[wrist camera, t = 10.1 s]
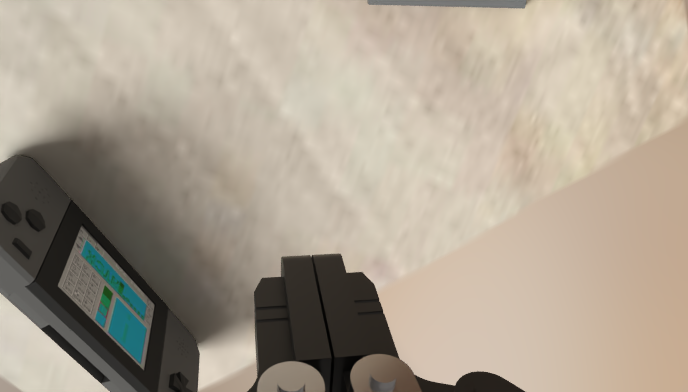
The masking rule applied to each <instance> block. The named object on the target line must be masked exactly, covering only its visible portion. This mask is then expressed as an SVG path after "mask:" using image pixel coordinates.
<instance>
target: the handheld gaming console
mask: <svg viewBox="0 0 688 392" xmlns="http://www.w3.org/2000/svg"><path fill="white" fill-rule="evenodd" d="M0 293H1V294H2V295H3V296H5V297H6V298H7V299H8V300H9V301H10V302H11V303H12V304H13V305H15V306H16V307H17V308H18V309H19V310H20V311H21V312H22V313H23V314H24V315H26V316H27V317H28V318H29V319H30V320H31V321H32V322H33V323H34V324H36V325H37V326H38V327H39V328H40V329H41V330H42V331H43V332H44V333H46V334H47V335H48V336H49V337H50V338H51V339H52V340H53V341H54V342H56V343H57V344H58V345H59V346H60V347H61V348H62V349H63V350H64V351H66V352H67V353H68V354H69V355H70V356H71V357H72V358H73V359H74V360H75V361H77V362H78V363H79V364H80V365H81V366H82V367H83V368H84V369H85V370H87V371H88V372H89V373H90V374H91V375H92V376H93V377H94V378H95V379H97V380H98V381H99V382H100V383H101V384H102V385H103V386H104V387H105V388H107V389H108V390H109V391H110V392H197V390H198V373H199V355H200V353H199V350H198V347H197V344H196V341H195V339H194V338H193V336H192V335H191V334H190V333H189V331H188V330H187V329H186V328H185V326H184V325H183V324H182V323H181V322H180V321H179V320H178V319H177V317H176V316H175V315H174V314H173V313H172V312H171V311H170V310H169V309H168V306H167V305H166V304H165V303H164V302H163V301H162V300H161V299H160V298H159V296H158V295H157V294H156V293H155V292H154V291H153V290H152V289H151V288H150V286H149V285H148V284H147V283H146V282H145V281H144V280H143V279H142V277H141V276H140V275H139V274H138V273H137V272H136V271H135V270H134V269H133V267H132V266H131V265H130V264H129V263H128V262H127V261H126V260H125V259H124V257H123V256H122V255H121V254H120V253H119V252H118V251H117V250H116V249H115V247H114V246H113V245H112V244H111V243H110V242H109V241H108V240H107V239H106V237H105V236H104V235H103V234H102V233H101V232H100V231H99V230H98V229H97V227H96V226H95V225H94V224H93V223H92V222H91V221H90V220H89V218H88V217H87V216H86V215H85V214H84V213H83V212H82V211H81V210H80V208H79V207H78V206H77V205H76V204H75V203H74V202H73V201H71V199H70V198H69V197H68V196H67V195H66V194H65V193H64V191H63V190H62V189H61V188H60V187H59V186H58V185H57V184H56V183H55V181H54V180H53V179H52V178H51V177H50V176H49V175H48V174H47V173H46V172H45V171H44V170H43V169H42V168H41V167H40V166H39V165H38V164H37V163H36V162H35V161H34V160H33V159H32V158H29V157H24V156H13V157H11V158H10V159H8V160H6V161H4V162H2V163H0Z"/></svg>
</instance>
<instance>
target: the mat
mask: <svg viewBox="0 0 688 392" xmlns="http://www.w3.org/2000/svg"><path fill="white" fill-rule="evenodd" d="M368 4H369V5H410V6H450V7H491V8H525V5H526V0H368Z"/></svg>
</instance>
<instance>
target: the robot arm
mask: <svg viewBox="0 0 688 392" xmlns="http://www.w3.org/2000/svg"><path fill="white" fill-rule="evenodd" d="M254 303H255V342H256V360H257V379H256V382H255V383H254V385H253V386H252V388H251V389H250V390H249V391H248V392H525V391H523V390H522V389H520V388H518V387H517V386H515V385H514V384H512V383H510V382H509V381H507V380H505V379H504V378H502V377H500V376H498V375H495V374H492V373H488V372H471V373H468V374H466V375H464V376H462V377H461V378H460V379H459V380H458V381H457V383H456V385H455V386H453V385H447V384H441V383H436V382H431V381H427V380H425V379H422V378H420V377H417V376H416V375H414V373H413V371H412V370H411V368H410V367H409V366H408V365H407V364H406V363H405V362H403V361H402V360H400V359H399V356H398V353H397V351H396V348H395V345H394V342H393V339H392V336H391V333H390V330H389V327H388V324H387V321H386V318H385V315H384V314H383V309H382V307H381V303H380V302H379V297H378V294H377V291H376V288H375V285H374V284H373V283H372V282H371V281H370V280H369V279H368V278H367V277H366V276H365V275H364V274H363V273H362V272H356V273H346V270H345V266H344V263H343V259H342V256H341V254H324V255H312V257H311V256H310V255H307V256H287V257H282V258H281V277H271V278H262V279H261V281H260V283H259V284H258V286H257V288H256V290H255V292H254Z"/></svg>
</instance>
